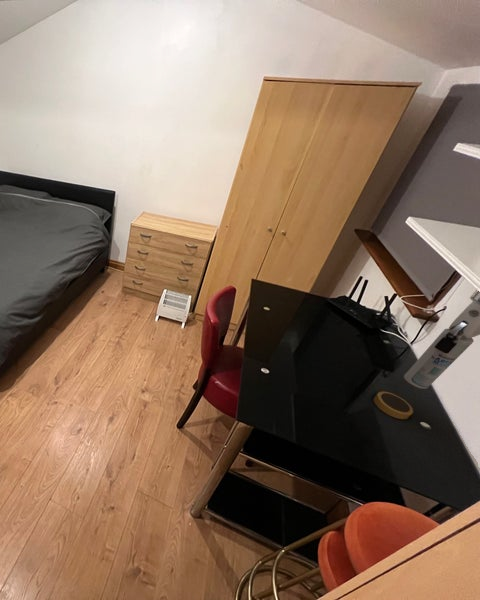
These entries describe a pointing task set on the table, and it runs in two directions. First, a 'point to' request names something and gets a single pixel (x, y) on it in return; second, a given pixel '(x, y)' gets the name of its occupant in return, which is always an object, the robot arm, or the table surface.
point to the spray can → (435, 362)
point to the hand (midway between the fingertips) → (447, 347)
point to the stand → (393, 405)
